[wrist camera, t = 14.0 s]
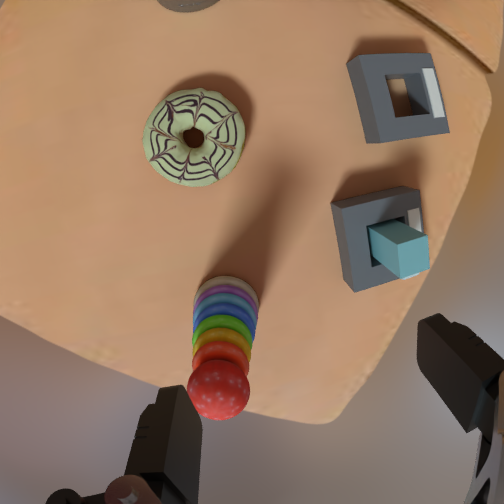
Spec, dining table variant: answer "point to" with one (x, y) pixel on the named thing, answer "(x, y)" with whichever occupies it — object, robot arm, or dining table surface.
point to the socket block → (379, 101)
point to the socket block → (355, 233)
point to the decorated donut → (205, 119)
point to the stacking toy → (222, 346)
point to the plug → (399, 247)
